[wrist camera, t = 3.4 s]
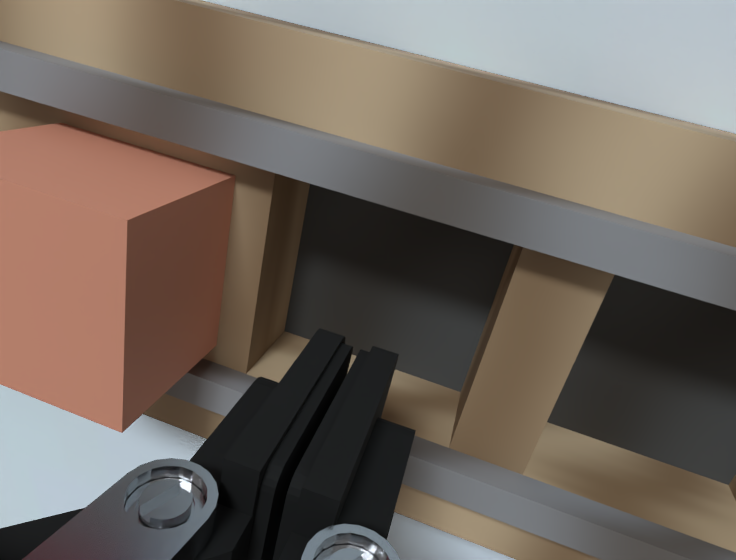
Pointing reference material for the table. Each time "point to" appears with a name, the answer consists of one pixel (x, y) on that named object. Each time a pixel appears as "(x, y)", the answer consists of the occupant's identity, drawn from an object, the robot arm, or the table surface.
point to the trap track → (441, 261)
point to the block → (106, 269)
